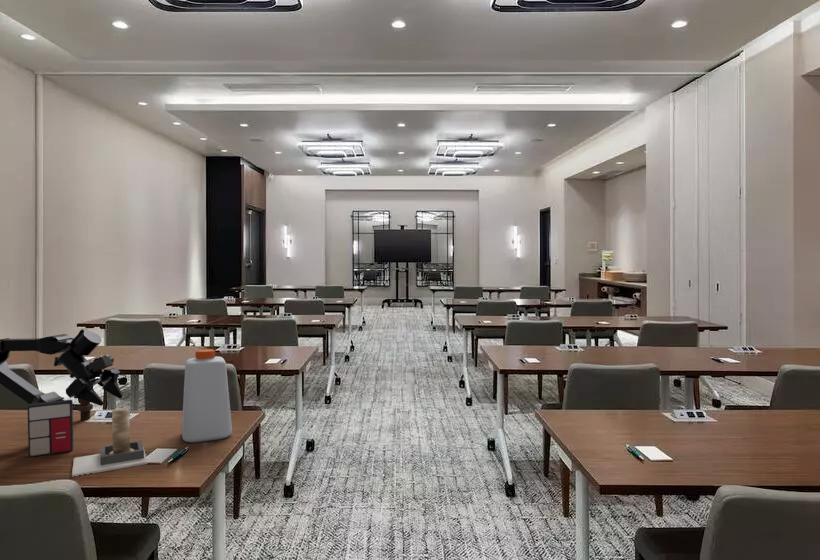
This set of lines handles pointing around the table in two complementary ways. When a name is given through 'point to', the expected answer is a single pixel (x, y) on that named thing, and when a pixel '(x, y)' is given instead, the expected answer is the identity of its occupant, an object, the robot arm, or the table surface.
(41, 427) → the calculator
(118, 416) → the peg
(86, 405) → the bolt
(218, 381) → the plastic bottle
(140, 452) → the collar board
